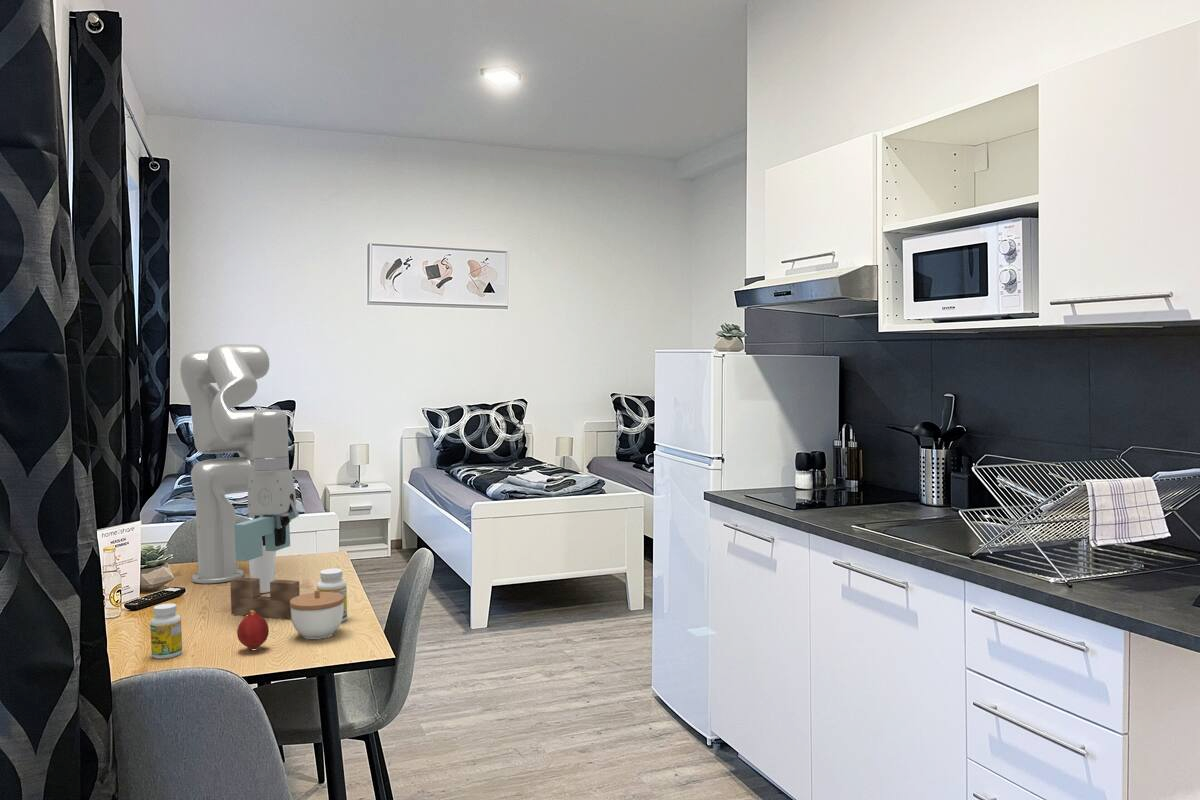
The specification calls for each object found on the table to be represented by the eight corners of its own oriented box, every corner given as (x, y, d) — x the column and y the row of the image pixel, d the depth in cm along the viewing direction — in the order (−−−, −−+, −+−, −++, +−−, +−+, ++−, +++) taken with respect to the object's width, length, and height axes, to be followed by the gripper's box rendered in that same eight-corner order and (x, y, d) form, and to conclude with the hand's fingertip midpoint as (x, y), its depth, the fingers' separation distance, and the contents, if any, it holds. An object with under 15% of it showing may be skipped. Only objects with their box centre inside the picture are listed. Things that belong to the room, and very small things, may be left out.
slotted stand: (231, 615, 198) (230, 579, 198) (238, 612, 201) (237, 577, 200) (293, 619, 194) (292, 583, 194) (300, 616, 196) (299, 580, 196)
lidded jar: (299, 628, 188) (297, 584, 187) (350, 626, 188) (349, 583, 188) (284, 644, 177) (282, 598, 176) (338, 642, 177) (337, 596, 177)
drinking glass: (267, 595, 215) (265, 534, 214) (242, 594, 216) (240, 533, 215) (282, 588, 221) (281, 529, 221) (258, 587, 223) (256, 528, 222)
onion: (243, 645, 176) (242, 606, 176) (272, 644, 177) (271, 605, 176) (233, 655, 170) (232, 614, 170) (264, 654, 171) (263, 613, 170)
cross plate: (245, 561, 190) (244, 524, 190) (235, 561, 191) (234, 524, 191) (290, 545, 206) (288, 511, 205) (281, 545, 206) (279, 511, 206)
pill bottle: (319, 617, 195) (318, 568, 195) (348, 615, 196) (347, 566, 196) (316, 625, 189) (314, 574, 189) (346, 623, 190) (344, 573, 190)
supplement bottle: (188, 651, 173) (186, 603, 173) (167, 660, 168) (165, 610, 167) (166, 649, 175) (164, 601, 174) (144, 658, 169) (143, 608, 169)
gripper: (230, 466, 200) (233, 547, 201) (292, 466, 196) (295, 549, 196) (251, 463, 207) (254, 540, 208) (311, 463, 203) (314, 542, 203)
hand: (274, 544), depth 202 cm, fingers closed on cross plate, 2 cm apart
